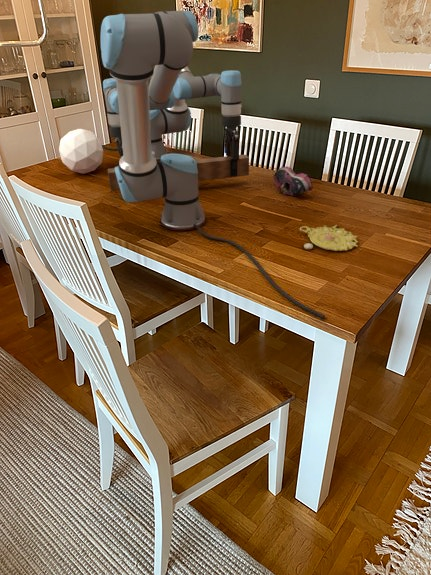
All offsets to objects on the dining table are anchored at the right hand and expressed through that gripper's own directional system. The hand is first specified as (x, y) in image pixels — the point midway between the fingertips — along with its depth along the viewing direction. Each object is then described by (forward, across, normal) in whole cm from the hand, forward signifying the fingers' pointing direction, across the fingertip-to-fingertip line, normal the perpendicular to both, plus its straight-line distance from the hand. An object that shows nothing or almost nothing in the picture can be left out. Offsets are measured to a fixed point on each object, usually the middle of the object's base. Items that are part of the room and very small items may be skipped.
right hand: (127, 185), depth 175 cm
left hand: (0, 0, -43) cm, 43 cm away
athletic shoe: (+5, -16, -62) cm, 64 cm away
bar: (+1, 0, -22) cm, 22 cm away
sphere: (+5, +40, +17) cm, 44 cm away
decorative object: (+4, -59, -58) cm, 83 cm away
